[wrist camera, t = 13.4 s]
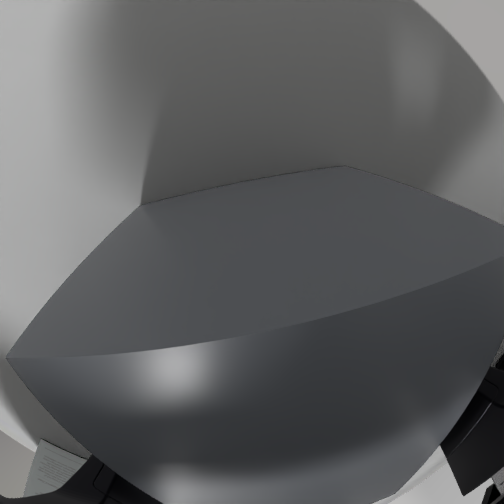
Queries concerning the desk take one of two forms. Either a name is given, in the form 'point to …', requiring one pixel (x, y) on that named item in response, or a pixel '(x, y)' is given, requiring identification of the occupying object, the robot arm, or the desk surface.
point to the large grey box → (273, 339)
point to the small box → (50, 469)
